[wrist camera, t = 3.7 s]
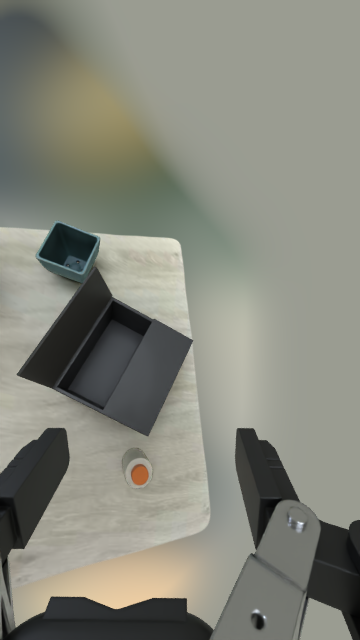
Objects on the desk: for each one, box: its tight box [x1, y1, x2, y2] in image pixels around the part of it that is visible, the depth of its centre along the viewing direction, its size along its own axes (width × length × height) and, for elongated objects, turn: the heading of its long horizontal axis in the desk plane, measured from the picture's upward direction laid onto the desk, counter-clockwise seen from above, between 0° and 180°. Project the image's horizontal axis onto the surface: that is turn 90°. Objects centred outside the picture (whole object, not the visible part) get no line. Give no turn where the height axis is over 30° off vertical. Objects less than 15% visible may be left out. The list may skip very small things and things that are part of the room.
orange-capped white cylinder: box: [122, 448, 153, 489], centre depth 44 cm, size 4×4×10 cm
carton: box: [52, 297, 193, 436], centre depth 47 cm, size 17×16×13 cm
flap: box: [17, 267, 112, 388], centre depth 37 cm, size 17×8×1 cm
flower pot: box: [36, 221, 100, 283], centre depth 52 cm, size 9×9×9 cm
